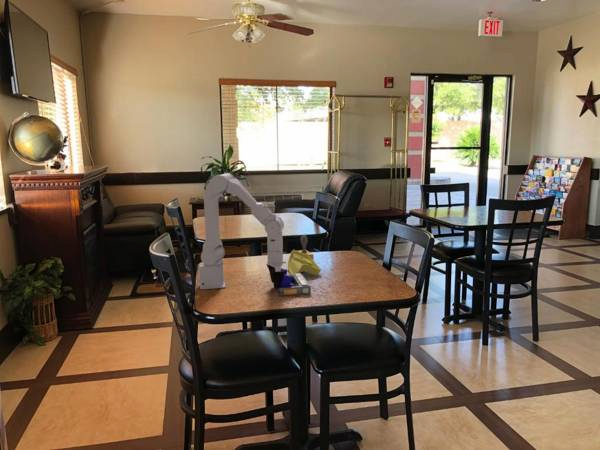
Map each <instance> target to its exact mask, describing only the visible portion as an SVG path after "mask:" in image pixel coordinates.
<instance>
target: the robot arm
mask: <svg viewBox="0 0 600 450" xmlns="http://www.w3.org/2000/svg"><path fill="white" fill-rule="evenodd" d="M224 193H226V194H231V195H236V196H237V197H238V198H239V200H241V201H242V202H243V203H244V204H245V205H246V206H247V207H249V209H250V210H251V211H250V212H251V215H252V216H253V217H254V218H255V219H257V221H258V222H259V223H260V224H261V225H262V226H264V231H265V232H266V233H267V238H266V239H267V241H266V242H267V243H266V244H267V247H266V248H267V262H266V267H267V268H268V271H269V272H268V273H269V278H270V281H271V283H273V287H274V289H275V290H276V289H279V288H280V286H281V281H282V277H283V275H284V273H285V270H281V268H282V266H283V265H284V264H286V263H287V261H286V260H284V248H283V247H284V244H283V243H284V242H283V240H284V239H283V230H284V227H285V222H284V220H283V219H282V218H281V217H280V216H277V214H276V213H275V214H274V213H273V212H272V211H271V209H269V208H268V206H269V205H267V204H266V203H265V204H264V203H263V202H258V201H257V200H256V199H255V198H254V197H253V196H252V195H251V194H250V192H249V191H248V190H247V189H246V188H245V186H243V184H242V183H241V182H240V181H239V179H237V178H236V177H235V176H234V175H233V174H232V173H230V172H225V173H222V174H215V175H214V176H213V177H211V178H210V179H209V180H208V184H207V187H206V188H205V190H204V193H203V208H204V209H203V210H204V230H205V232H204V233H205V240H204V242H203V245H202V252H201V254H200V259H201V262H202V263H203V264H198V273H199V275H198V277H199V278H198V284H199V289H200V290H209V289H210V290H211V289H213V290H214V289H224V288H226V282H225V280H224V277H225V276H224V261H223V259H224V257H225V255H226V251H225V248H224V246H223V241H222V240H221V237H220V235H221V234H220V214H219V212H220V211H219V207H220V206H219V198H220V197H221V196H222V195H223V194H224Z"/></svg>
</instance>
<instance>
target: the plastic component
mask: <svg viewBox="0 0 600 450" xmlns="http://www.w3.org/2000/svg"><path fill="white" fill-rule="evenodd" d="M298 251H299V250H295V249H292V251H291V252H290V255H289V257H288V261H287V272H288V273H289V275H291V274H297V273H300V274H301V273H302V272H305V273H307V274H309V275H312V276H315V277H317V276H319V274H320V273H321V270H322V268H321V267H320V266H319V265H318V264H317V263H316V262H315V260H314V261H313V259H311V258H310V257H309V256H307V255H305V254H303V253H301V252H298Z"/></svg>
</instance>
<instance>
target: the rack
mask: <svg viewBox="0 0 600 450" xmlns="http://www.w3.org/2000/svg"><path fill="white" fill-rule="evenodd" d="M288 275H289V276H292V280H291V283H292V284H294V287H282V288H278V289H279V290H278V291H279V297H286V296H288V297H289V296H290V297H291V296H302V295H311V294H312V293H311V288H312V287H311V284H310V283H309V282H308V281H307V279H306V278H305V276H304V275H303V274H302V273H301V272H300V273H297V274H288Z"/></svg>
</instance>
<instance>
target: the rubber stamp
mask: <svg viewBox="0 0 600 450" xmlns="http://www.w3.org/2000/svg"><path fill="white" fill-rule="evenodd" d="M299 240H300V243H301V244H300V245H301V246H302V249H301V250H297V251H298V252H301V253H303V254H305V255H307V256H309V257H310V258H311V259H313V261H314V262H315V260H314V254H313V253H312V252H310V251H308V250H307V249H306V248H307V244H308V241H309V240H308V237H307V235H305V234H304V235H301V236H300V239H299Z"/></svg>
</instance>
